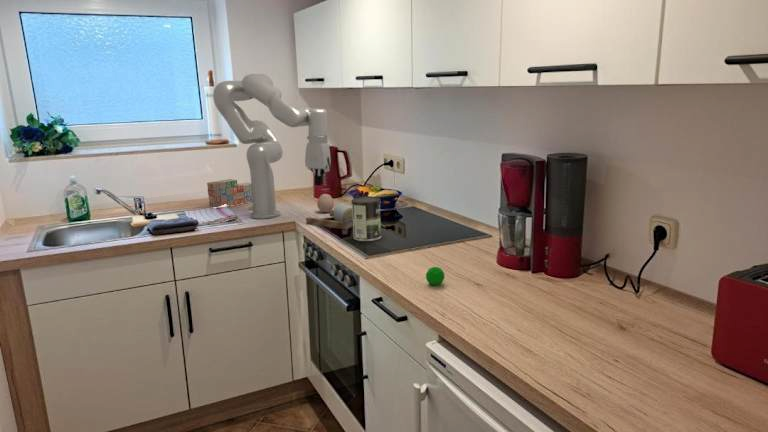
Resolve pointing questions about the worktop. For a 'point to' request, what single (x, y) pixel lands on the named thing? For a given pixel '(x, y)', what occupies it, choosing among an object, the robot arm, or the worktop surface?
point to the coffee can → (366, 218)
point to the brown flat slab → (330, 222)
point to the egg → (325, 203)
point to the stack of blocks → (229, 192)
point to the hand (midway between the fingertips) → (318, 184)
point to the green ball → (435, 276)
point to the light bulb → (342, 212)
